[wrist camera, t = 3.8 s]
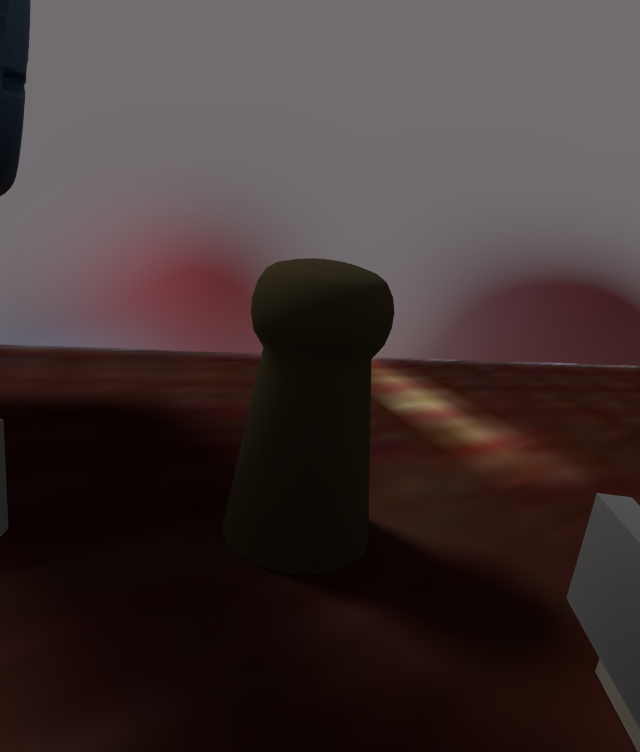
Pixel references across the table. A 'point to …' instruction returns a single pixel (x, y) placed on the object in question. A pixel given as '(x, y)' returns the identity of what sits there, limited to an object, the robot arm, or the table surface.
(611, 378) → the table surface
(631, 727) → the white stand
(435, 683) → the table surface
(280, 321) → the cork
